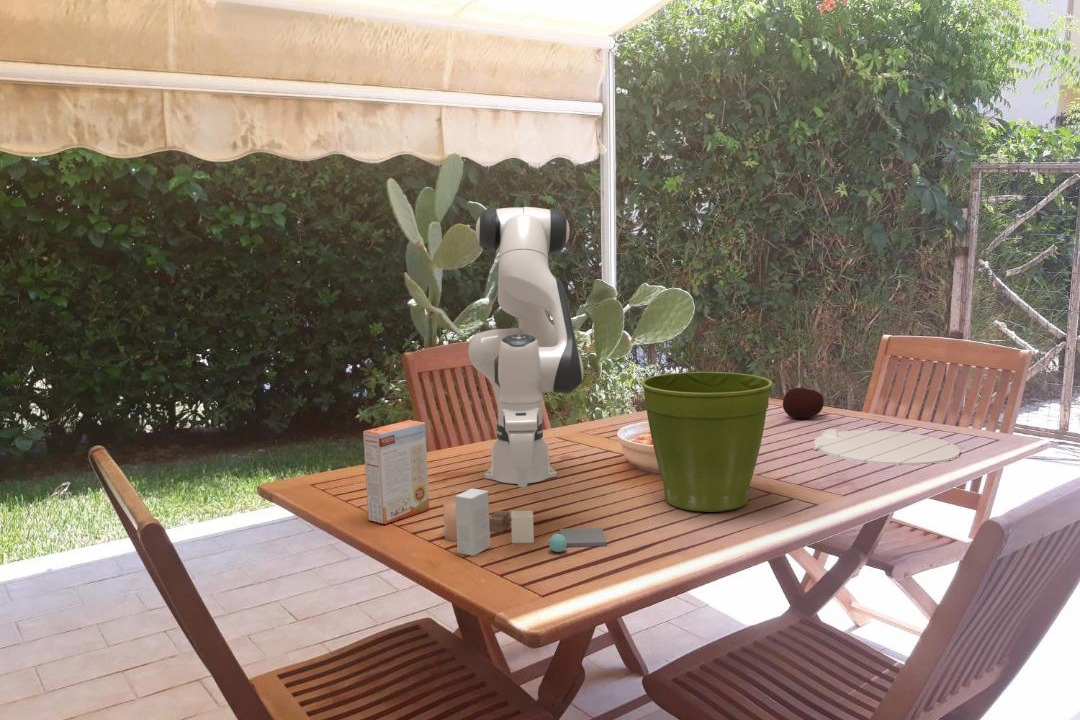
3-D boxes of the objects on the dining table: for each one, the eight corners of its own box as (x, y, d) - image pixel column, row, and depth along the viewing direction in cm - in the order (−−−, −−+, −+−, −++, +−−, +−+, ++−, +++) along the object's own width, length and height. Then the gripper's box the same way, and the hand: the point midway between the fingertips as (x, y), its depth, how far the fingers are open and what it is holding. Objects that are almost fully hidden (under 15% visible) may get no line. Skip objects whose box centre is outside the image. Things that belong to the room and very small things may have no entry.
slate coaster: (560, 532, 197) (560, 528, 197) (602, 531, 197) (602, 527, 197) (562, 547, 188) (562, 543, 188) (606, 545, 188) (606, 542, 188)
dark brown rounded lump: (826, 422, 300) (827, 391, 299) (784, 422, 302) (785, 390, 300) (819, 415, 311) (820, 385, 310) (779, 415, 313) (780, 385, 311)
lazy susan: (784, 449, 267) (785, 437, 267) (854, 427, 293) (854, 417, 293) (919, 475, 238) (920, 462, 238) (983, 448, 264) (984, 437, 264)
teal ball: (548, 548, 187) (548, 531, 187) (566, 548, 187) (566, 531, 187) (549, 554, 184) (549, 537, 183) (567, 554, 184) (567, 537, 183)
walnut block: (496, 523, 204) (496, 510, 204) (509, 524, 203) (509, 511, 203) (488, 532, 198) (488, 518, 198) (501, 533, 198) (501, 519, 197)
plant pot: (776, 489, 226) (778, 373, 222) (762, 527, 198) (764, 395, 194) (656, 480, 236) (656, 369, 232) (627, 514, 208) (626, 389, 204)
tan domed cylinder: (445, 531, 199) (444, 499, 198) (478, 530, 199) (477, 498, 198) (443, 542, 192) (442, 509, 191) (477, 541, 192) (476, 508, 191)
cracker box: (412, 505, 217) (409, 418, 214) (430, 510, 214) (427, 421, 211) (366, 521, 207) (361, 429, 204) (384, 526, 203) (380, 433, 200)
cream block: (511, 536, 195) (511, 510, 194) (533, 535, 195) (532, 510, 195) (511, 543, 191) (511, 517, 190) (533, 542, 191) (533, 517, 190)
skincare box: (473, 544, 191) (472, 487, 189) (490, 547, 188) (489, 490, 187) (456, 553, 185) (454, 495, 184) (473, 556, 183) (472, 498, 182)
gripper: (505, 406, 199) (507, 468, 201) (505, 424, 179) (506, 494, 181) (534, 405, 200) (536, 467, 201) (537, 423, 179) (539, 493, 181)
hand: (522, 480), depth 191 cm, fingers open, 8 cm apart
